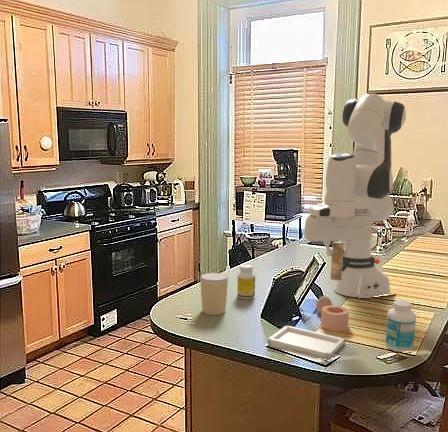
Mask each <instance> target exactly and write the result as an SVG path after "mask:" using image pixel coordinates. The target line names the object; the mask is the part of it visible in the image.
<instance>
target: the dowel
mask: <svg viewBox="0 0 448 432" xmlns="http://www.w3.org/2000/svg"><path fill="white" fill-rule="evenodd" d="M331 249H332V250H334V252H333V256H331V261H330V262H331V265H330V280H333V281H337V280H341V279H342V261H343V243H342V242H341V241H332V244H331Z"/></svg>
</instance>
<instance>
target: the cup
mask: <svg viewBox="0 0 448 432" xmlns="http://www.w3.org/2000/svg"><path fill="white" fill-rule="evenodd" d="M349 316H350V310H349V309H348V308H346V307H345V306H339V305H333V304H332V306H325V307H322V309H321V315H320V326H321V328H322V329H323V330H326V331H329V332H344V331H347V330H348V329H349V318H350V317H349Z"/></svg>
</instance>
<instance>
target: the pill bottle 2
mask: <svg viewBox="0 0 448 432" xmlns="http://www.w3.org/2000/svg"><path fill="white" fill-rule="evenodd" d="M392 306H393V308H390V309H389V310H388V311H387V317H386V329H385V331H386V333H385V334H386V335H385V347H386V348H388V349H389V350H391V351H393V352H397V351H399V352H402V351H403V352H404V351H411V350H413V351H414V349H413V348H414V346H415V336H416V335H415V334H416V323H417V322H416V321H417V315H416V313H415V312H414V311H413V310H412V309H413V308H412V303H411V302H410V301H408V300H401V299H400V300H398V299H397V300H394V301H393V305H392Z"/></svg>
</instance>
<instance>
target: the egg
mask: <svg viewBox="0 0 448 432" xmlns="http://www.w3.org/2000/svg"><path fill="white" fill-rule="evenodd" d="M325 306H333V303H332V300H331V298H329V296H326V295H322V296H320V297H319V298H318V300H317V302H316V306H315V308H316V311H317V312H316V313H317V314H319V315H320V316H321V309H322V307H325Z"/></svg>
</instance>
